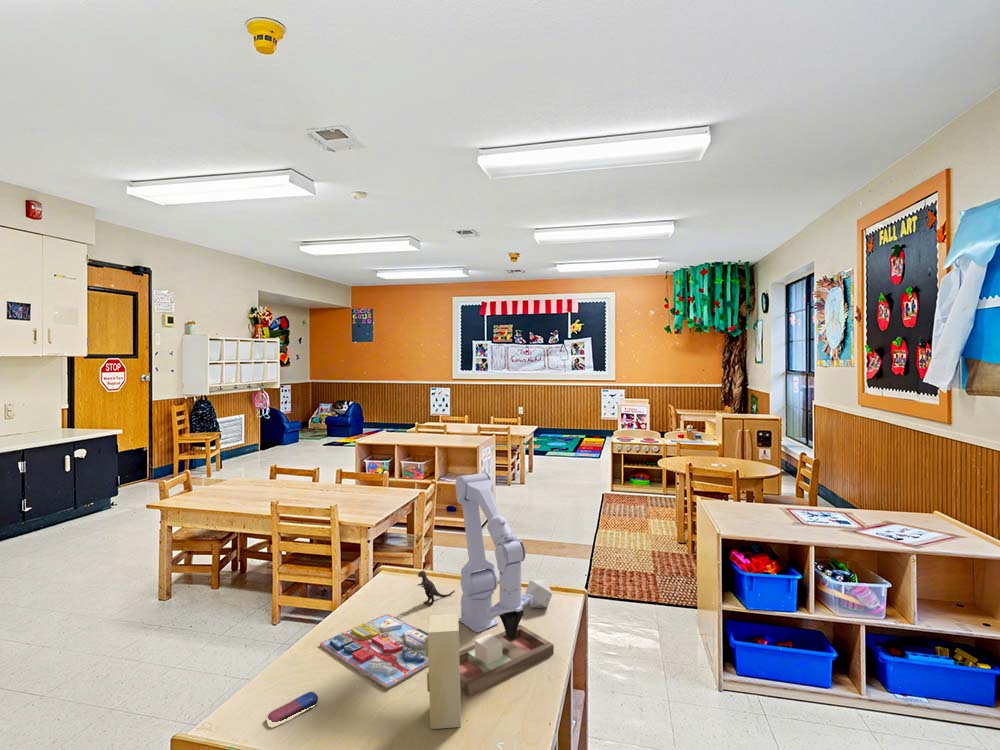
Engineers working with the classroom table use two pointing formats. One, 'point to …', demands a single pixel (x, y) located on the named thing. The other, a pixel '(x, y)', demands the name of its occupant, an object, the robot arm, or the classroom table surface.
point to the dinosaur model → (429, 588)
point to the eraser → (293, 707)
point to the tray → (502, 660)
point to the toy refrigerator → (443, 671)
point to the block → (488, 648)
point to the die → (539, 593)
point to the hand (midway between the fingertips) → (510, 637)
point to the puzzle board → (382, 650)
